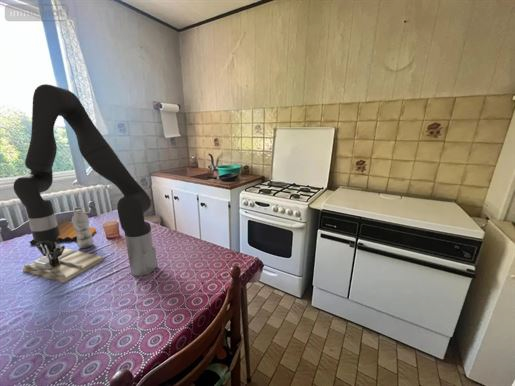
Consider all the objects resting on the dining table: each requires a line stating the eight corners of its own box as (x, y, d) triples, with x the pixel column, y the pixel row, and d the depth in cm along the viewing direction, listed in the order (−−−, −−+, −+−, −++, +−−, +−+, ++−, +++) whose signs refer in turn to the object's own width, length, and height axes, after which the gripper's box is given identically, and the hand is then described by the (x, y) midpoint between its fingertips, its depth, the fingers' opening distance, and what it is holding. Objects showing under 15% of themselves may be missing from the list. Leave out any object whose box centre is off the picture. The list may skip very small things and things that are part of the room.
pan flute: (59, 225, 132) (30, 246, 109) (58, 220, 131) (28, 239, 108) (106, 221, 138) (88, 240, 115) (105, 216, 138) (87, 234, 114)
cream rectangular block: (60, 263, 92) (58, 256, 91) (46, 270, 87) (44, 263, 87) (50, 261, 94) (48, 254, 93) (35, 267, 89) (33, 260, 88)
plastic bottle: (80, 251, 104) (71, 212, 99) (76, 247, 108) (67, 208, 102) (96, 246, 109) (88, 208, 103) (91, 242, 113) (83, 205, 107)
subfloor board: (103, 259, 98) (102, 254, 97) (64, 282, 83) (62, 276, 83) (65, 251, 104) (64, 246, 104) (23, 270, 90) (21, 265, 89)
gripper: (67, 224, 86) (77, 263, 91) (44, 220, 89) (54, 257, 94) (45, 233, 79) (56, 274, 84) (20, 227, 82) (32, 267, 87)
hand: (55, 265), depth 89 cm, fingers closed
